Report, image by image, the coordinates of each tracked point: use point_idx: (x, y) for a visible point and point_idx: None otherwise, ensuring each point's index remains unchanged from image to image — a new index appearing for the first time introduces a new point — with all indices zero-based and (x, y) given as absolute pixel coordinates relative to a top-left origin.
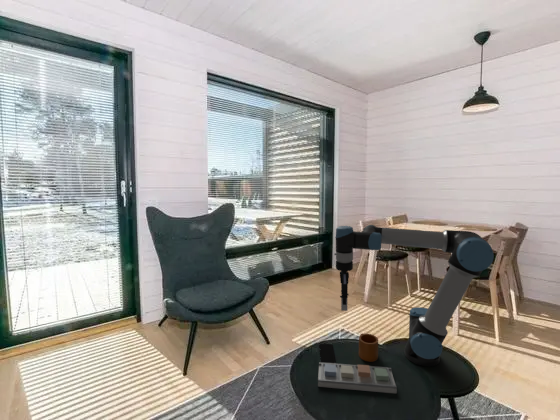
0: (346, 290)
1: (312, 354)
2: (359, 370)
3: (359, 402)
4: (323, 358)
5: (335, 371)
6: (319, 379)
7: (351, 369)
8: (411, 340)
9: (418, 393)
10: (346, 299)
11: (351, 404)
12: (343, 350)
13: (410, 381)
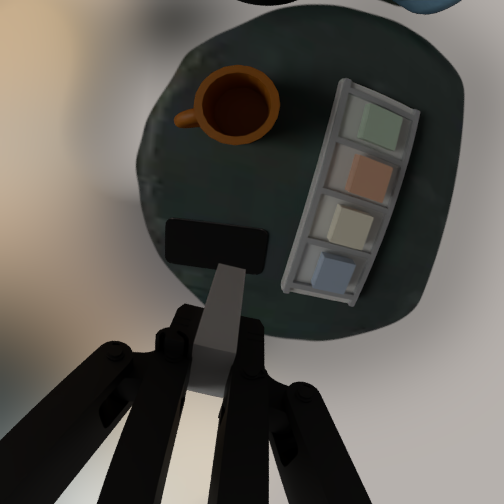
0: (357, 493)
1: None
2: (377, 197)
3: (419, 217)
4: (242, 264)
5: (352, 265)
6: (352, 303)
7: (356, 215)
8: (434, 4)
9: (414, 63)
10: (236, 342)
11: (418, 237)
12: (201, 188)
13: (374, 51)
